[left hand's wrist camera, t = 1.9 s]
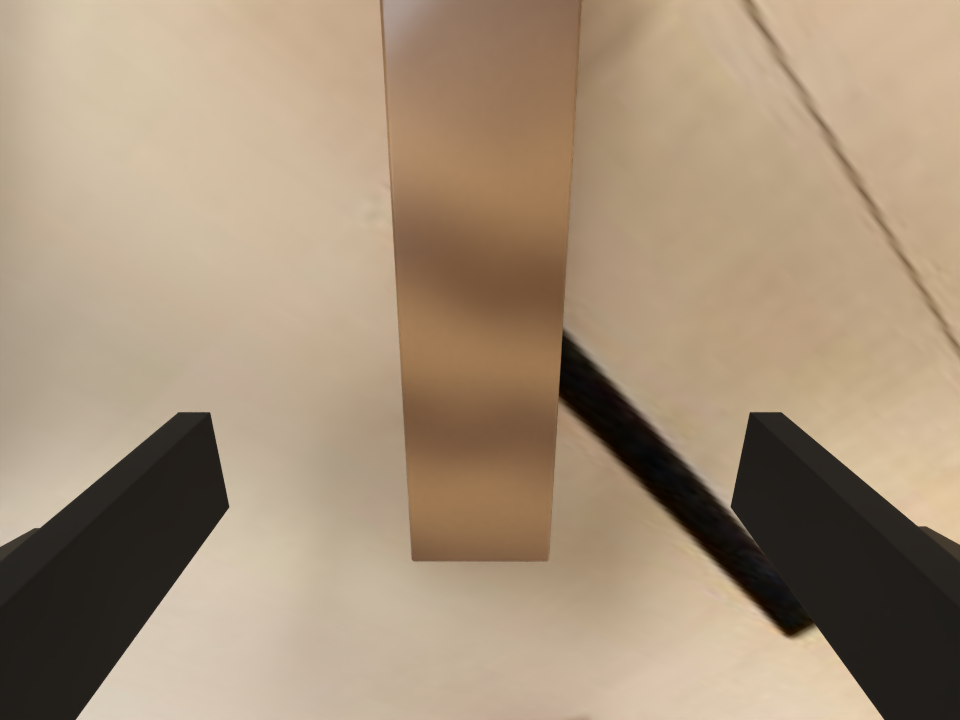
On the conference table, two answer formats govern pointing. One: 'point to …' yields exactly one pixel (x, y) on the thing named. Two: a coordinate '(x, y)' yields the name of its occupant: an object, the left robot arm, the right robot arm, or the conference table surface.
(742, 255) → the conference table surface
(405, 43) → the bar
